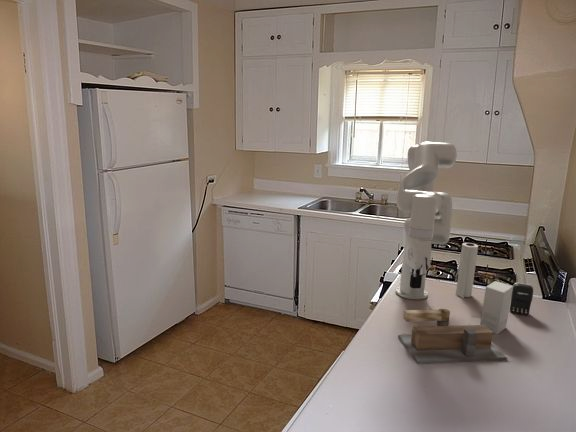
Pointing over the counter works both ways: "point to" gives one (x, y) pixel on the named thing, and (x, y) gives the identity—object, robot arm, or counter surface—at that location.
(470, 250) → the paper towel roll
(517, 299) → the battery charger
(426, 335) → the wooden gate latch
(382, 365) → the counter surface
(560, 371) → the counter surface
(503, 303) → the skincare box
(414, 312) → the bar
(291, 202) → the counter surface
